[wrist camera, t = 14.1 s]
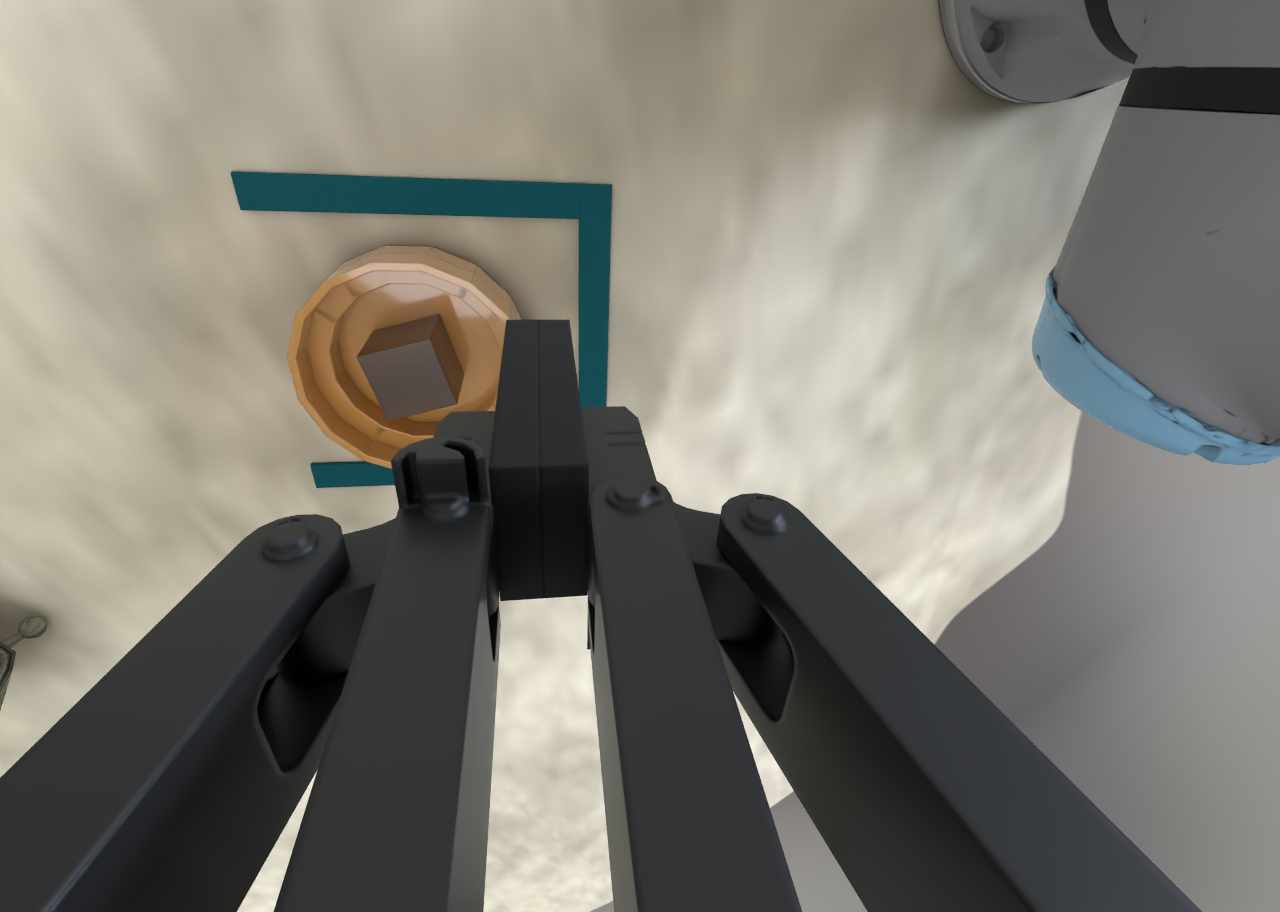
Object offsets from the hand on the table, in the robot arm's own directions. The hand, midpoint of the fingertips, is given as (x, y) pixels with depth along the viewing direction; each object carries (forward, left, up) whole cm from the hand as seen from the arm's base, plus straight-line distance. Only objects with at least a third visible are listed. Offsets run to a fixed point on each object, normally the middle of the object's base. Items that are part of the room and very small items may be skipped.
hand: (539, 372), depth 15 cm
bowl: (+10, -8, -26) cm, 29 cm away
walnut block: (+10, -8, -26) cm, 29 cm away
